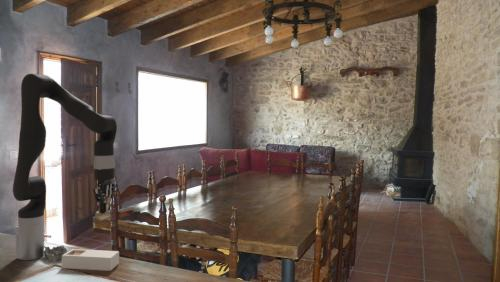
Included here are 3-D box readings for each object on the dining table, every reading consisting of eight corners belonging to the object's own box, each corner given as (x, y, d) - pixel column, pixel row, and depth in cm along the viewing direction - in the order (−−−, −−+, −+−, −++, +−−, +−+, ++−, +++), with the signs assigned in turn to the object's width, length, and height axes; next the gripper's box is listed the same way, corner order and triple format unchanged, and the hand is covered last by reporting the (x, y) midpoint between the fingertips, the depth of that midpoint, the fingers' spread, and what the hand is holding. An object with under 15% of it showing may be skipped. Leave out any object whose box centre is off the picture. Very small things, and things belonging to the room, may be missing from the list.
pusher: (94, 218, 145) (99, 197, 144) (101, 214, 151) (106, 194, 150) (101, 220, 144) (106, 199, 144) (109, 216, 150) (113, 196, 150)
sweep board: (61, 268, 146) (61, 255, 146) (72, 261, 154) (72, 248, 154) (110, 270, 145) (110, 257, 145) (119, 263, 152) (119, 251, 152)
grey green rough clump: (42, 255, 159) (42, 245, 159) (62, 251, 164) (62, 242, 164) (48, 262, 151) (48, 252, 151) (68, 259, 156) (68, 249, 156)
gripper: (103, 165, 154) (104, 207, 155) (85, 169, 140) (86, 215, 141) (121, 165, 153) (122, 207, 154) (105, 169, 139) (105, 215, 140)
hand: (105, 211), depth 147 cm, fingers closed on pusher, 2 cm apart
